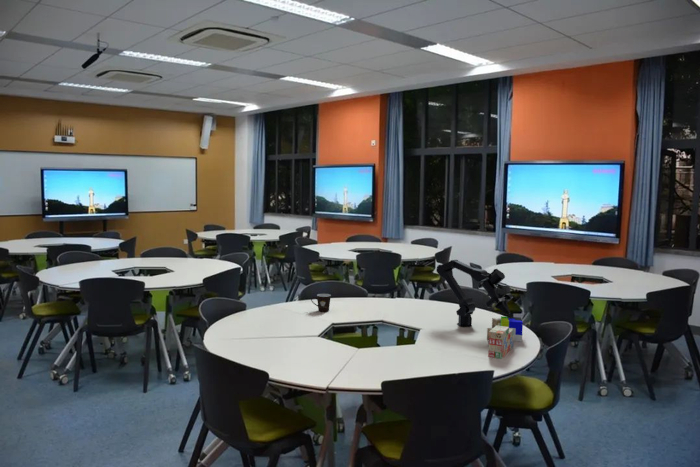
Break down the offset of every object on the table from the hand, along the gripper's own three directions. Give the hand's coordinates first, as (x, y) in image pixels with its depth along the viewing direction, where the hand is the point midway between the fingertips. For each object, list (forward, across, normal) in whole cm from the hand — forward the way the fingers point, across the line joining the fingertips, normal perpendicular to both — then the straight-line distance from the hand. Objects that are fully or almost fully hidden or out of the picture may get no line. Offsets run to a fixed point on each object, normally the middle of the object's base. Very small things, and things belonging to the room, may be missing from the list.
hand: (509, 313), depth 276 cm
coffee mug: (-67, -39, +84) cm, 114 cm away
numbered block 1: (+1, +7, +16) cm, 17 cm away
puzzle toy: (+11, -2, +7) cm, 13 cm away
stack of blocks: (+17, -27, 0) cm, 32 cm away
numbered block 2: (+8, -13, +9) cm, 18 cm away
